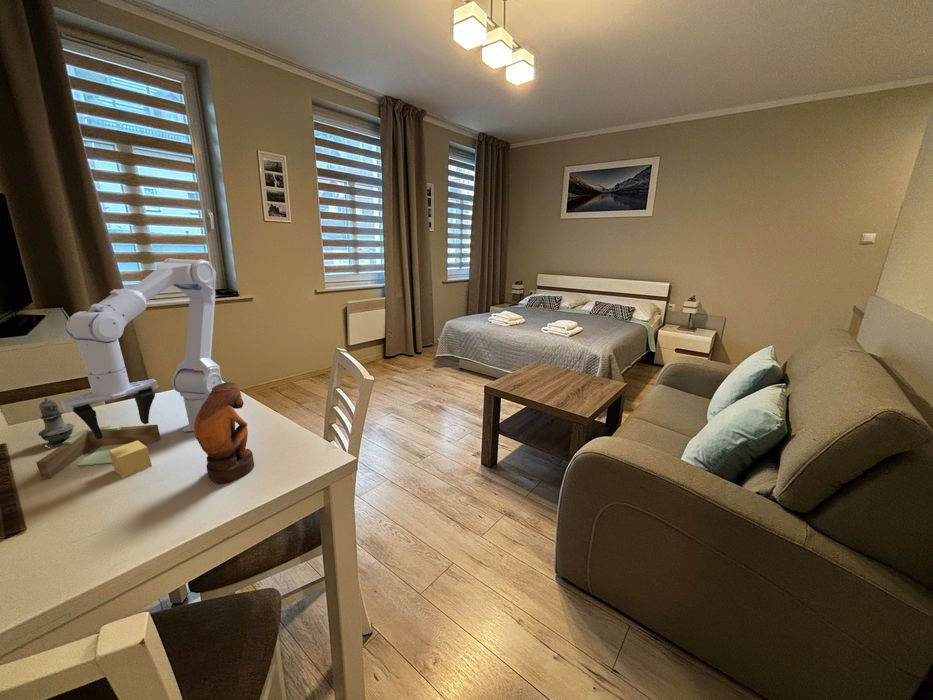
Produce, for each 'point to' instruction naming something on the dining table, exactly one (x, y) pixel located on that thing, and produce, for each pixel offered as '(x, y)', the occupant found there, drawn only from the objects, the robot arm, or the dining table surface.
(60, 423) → the grey stone finial
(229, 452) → the figurine
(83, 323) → the robot arm
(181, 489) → the dining table surface
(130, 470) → the ochre block
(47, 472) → the walnut walls
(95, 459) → the sage pad
